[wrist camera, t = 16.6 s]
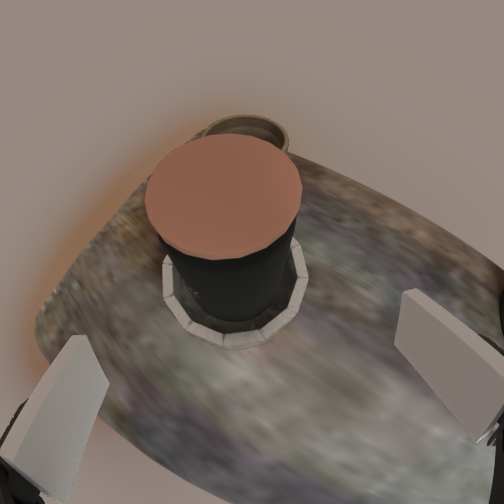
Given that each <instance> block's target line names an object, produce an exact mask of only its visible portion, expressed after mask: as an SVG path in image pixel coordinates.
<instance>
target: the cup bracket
mask: <svg viewBox="0 0 504 504" xmlns="http://www.w3.org/2000/svg"><path fill="white" fill-rule="evenodd" d="M163 263H164V264H162V271H163V298H164V300H165V302H166V303H167V305H168V306H169V308H170V309H171V311H172V312H173V314H174V315H175V317H176V318H177V320H178V321H179V323H180V324H181V325H182V327H183V328H184V329H185V330H186V331H187V332H188V333H189V334H190V335H192V336H194V337H196V338H198V339H201V340H203V341H205V342H207V343H209V344H211V345H214V346H217V347H220V348H222V349H224V350H225V349H226V350H229V349H242V348H248V347H253V346H257V345H263V343H264V344H265V343H266V342H268V341H269V340H270V339H271V338H273V337H274V336H276V335H277V334H278V333H279V332H281V331H282V330H283V329H284V328H285V327H286V326H287V325H289V324H290V323H291V322H292V321H293V319H294V318H295V316H296V315H297V313H298V310H299V307H300V304H301V301H302V298H303V295H304V292H305V289H306V286H307V283H308V278H309V277H308V273H307V269H306V265H305V261H304V257H303V253H302V249H301V246H300V245H299V243H298V242H297V241H296V240H295V239H294V238H293V237H292V241H291V245H290V249H289V253H288V257H287V261H286V264H285V268H284V272H283V276H282V279H281V283H280V287H279V290H278V294H277V296H276V297H275V299H274V301H273V302H272V304H271V306H270V307H269V308H267V309H266V310H265V311H264V312H263V313H262V314H260V315H259V316H257V317H254V318H252V319H250V320H247V321H241V322H227V321H223V320H219V319H216V318H214V317H213V316H211V315H209V314H208V313H206V312H204V310H203V309H202V308H201V307H200V306H199V304H198V303H197V302H196V301H195V299H194V298H193V296H192V294H191V293H190V291H189V290H188V288H187V286H186V285H185V283H184V281H183V280H182V278H181V276H180V275H179V273H178V271H177V270H176V268H175V266H174V265H173V263H172V261H171V260H170V258H169V256H168V254H167V256H166V257H165V259H164V261H163Z"/></svg>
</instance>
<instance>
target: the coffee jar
mask: <svg viewBox="0 0 504 504" xmlns="http://www.w3.org/2000/svg"><path fill="white" fill-rule="evenodd" d="M302 189H303V187H302V184H301V180H300V176H299V173H298V169H297V168H296V166H295V165H294V164H293V162H292V161H291V160H290V158H289V157H288V156H287V154H286V153H284V152H283V151H281V150H280V149H279V148H277V147H276V146H274V145H273V144H271V143H270V142H267V141H264V140H261V139H259V138H256V137H253V136H249V135H241V134H232V133H229V134H217V135H209V136H205V137H202V138H199V139H196V140H192V141H189V142H188V143H186V144H184V145H182V146H181V147H179V148H177V149H175V150H174V151H172V152H171V153H170V154H169V155H167V156H166V157H165V158H164V159H163V160H162V161H161V162H160V163H159V164H158V165H157V167H156V168H155V170H154V172H153V173H152V175H151V177H150V179H149V181H148V183H147V188H146V194H145V200H144V202H145V207H146V211H147V215H148V219H149V221H150V223H151V224H152V225H153V227H154V228H155V229H156V231H157V232H158V236H159V240H160V242H161V244H162V246H163V247H164V249H165V251H166V253H167V254H168V256H169V258H170V260H171V261H172V263H173V265H174V266H175V268H176V270H177V271H178V273H179V275H180V276H181V278H182V280H183V281H184V283H185V285H186V286H187V288H188V290H189V291H190V293H191V294H192V296H193V298H194V299H195V301H196V302H197V303H198V304H199V306H200V307H201V308H202V309H203V310H204V312H206V313H208V314H209V315H211V316H213V317H214V318H216V319H219V320H223V321H227V322H241V321H247V320H250V319H252V318H254V317H257V316H259V315H260V314H262V313H263V312H264V311H265V310H266V309H267V308H269V307H270V306H271V304H272V302H273V301H274V299H275V297H276V296H277V294H278V290H279V287H280V283H281V279H282V276H283V272H284V268H285V264H286V261H287V257H288V253H289V249H290V245H291V241H292V237H293V233H294V229H295V223H296V217H297V213H298V210H299V208H300V202H301V195H302Z"/></svg>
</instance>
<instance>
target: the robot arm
mask: <svg viewBox="0 0 504 504" xmlns="http://www.w3.org/2000/svg"><path fill="white" fill-rule="evenodd" d="M501 321H502V328H503V332H504V292H503V295H502V301H501ZM394 345H395V346H396V347H397V348H398V349H399V351H400V352H401V353H402V354H403V355H404V356H405V357H406V359H407V360H408V361H409V362H410V363H411V364H412V366H413V367H414V368H415V369H416V370H417V371H418V373H419V374H420V375H421V376H422V377H423V379H424V380H425V381H426V382H427V383H428V385H429V386H430V387H431V388H432V389H433V391H434V392H435V393H436V394H437V395H438V397H439V398H440V399H441V400H442V402H443V403H444V404H445V405H446V407H447V408H448V409H449V410H450V412H451V413H452V414H453V415H454V417H455V418H456V419H457V420H458V422H459V423H460V424H461V426H462V427H463V428H464V429H465V431H466V432H467V433H468V435H469V436H470V437H471V439H472V440H473V441H474V443H477V442H478V441H479V440H481V439H482V438H483V437H485V436H486V435H487V434H488V433H489V432H490V431H491V430H492V428H493V427H494V425H495V424H496V423H498V424H499V425H500V426H499V427H498V428H497V430H496V431H495V432H494V434H493V435H492V436H491V437H490V439H489V440H488V443H487V446H489V445H490V444H491V443H492V442H493V440H494V439H495V438H496V440H495V442H494V443H493V445H492V446H496V455H495V466H494V475H493V483H492V489H491V495H490V500H489V504H504V350H502V349H501V348H500V347H499V348H498V345H496V344H495V343H494V342H493V341H492V340H490V339H489V338H487V337H485V336H482V335H480V334H476V333H475V332H474V331H472V330H471V329H470V328H469V327H467V326H466V325H465V324H464V323H462V322H461V321H460V320H458V319H457V318H456V317H455V316H453V315H452V314H451V313H449V312H448V311H447V310H445V309H444V308H443V307H441V306H440V305H439V304H437V303H436V302H435V301H433V300H432V299H431V298H429V297H428V296H426V295H425V294H424V293H422V292H421V291H420V290H418V289H417V288H415V289H411V290H407V291H403V294H402V301H401V308H400V314H399V320H398V326H397V331H396V337H395V342H394ZM109 385H110V384H109V382H108V380H107V378H106V376H105V374H104V372H103V371H102V369H101V367H100V364H99V362H98V360H97V358H96V356H95V354H94V352H93V350H92V347H91V345H90V343H89V341H88V338H87V336H86V335H72V336H71V338H70V339H69V340H68V342H67V343H66V344H65V346H64V347H63V348H62V350H61V351H60V353H59V354H58V355H57V357H56V358H55V360H54V361H53V363H52V364H51V365H50V367H49V368H48V370H47V371H46V373H45V374H44V376H43V377H42V379H41V380H40V382H39V383H38V385H37V386H36V388H35V389H34V391H33V392H32V394H31V396H30V397H29V398H28V399H27V400H26V401H25V402H24V403H22V404H21V405H20V406H19V408H18V410H17V411H16V413H15V415H14V418H12V420H11V421H10V425H8V427H7V428H6V430H5V432H4V434H3V436H2V437H1V439H0V504H45V502H44V501H43V499H42V498H41V497H40V496H39V494H40V491H41V492H42V493H43V494H45V495H46V496H47V497H49V498H50V499H52V500H54V501H57V502H59V503H62V504H68V501H69V497H70V494H71V490H72V487H73V483H74V480H75V477H76V474H77V471H78V467H79V464H80V461H81V458H82V455H83V452H84V449H85V447H86V444H87V440H88V438H89V435H90V432H91V430H92V427H93V425H94V422H95V419H96V417H97V414H98V412H99V409H100V407H101V404H102V402H103V399H104V397H105V394H106V392H107V389H108V387H109Z"/></svg>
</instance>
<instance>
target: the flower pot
mask: <svg viewBox="0 0 504 504" xmlns="http://www.w3.org/2000/svg"><path fill="white" fill-rule="evenodd" d="M229 133H232V134H241V135H249V136H253V137H256V138H259V139H261V140H264V141H267V142H270V143H271V144H273V145H274V146H276V147H277V148H279V149H280V150H281V151H283V152H284V153H286V154H287V151H288V146H289V138H288V135H287V133H286V131H285V130H284V128H283V127H282V126H280V125H279V124H278V123H276V122H274V121H272V120H270V119H268V118H265V117H261V116H256V115H236V116H230V117H226V118H223V119H221V120H218V121H216V122H215V123H213V124H211V125H210V126H209V127H208V128H207V129H206V130H205V131H204V132H203V134H202V136H201V138H202V137H205V136H209V135H217V134H229Z"/></svg>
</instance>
